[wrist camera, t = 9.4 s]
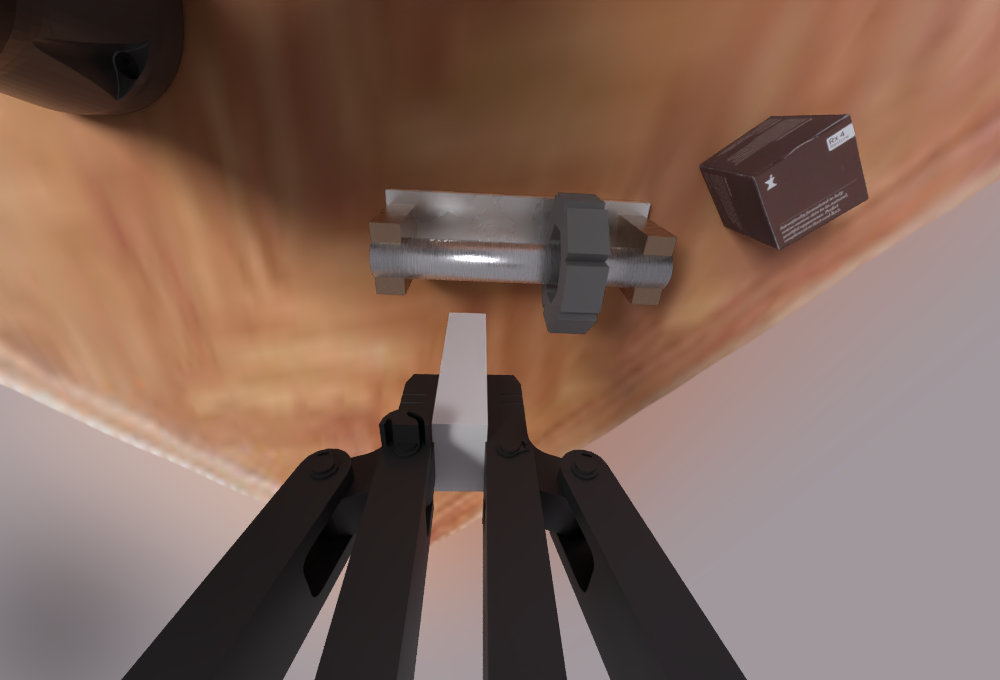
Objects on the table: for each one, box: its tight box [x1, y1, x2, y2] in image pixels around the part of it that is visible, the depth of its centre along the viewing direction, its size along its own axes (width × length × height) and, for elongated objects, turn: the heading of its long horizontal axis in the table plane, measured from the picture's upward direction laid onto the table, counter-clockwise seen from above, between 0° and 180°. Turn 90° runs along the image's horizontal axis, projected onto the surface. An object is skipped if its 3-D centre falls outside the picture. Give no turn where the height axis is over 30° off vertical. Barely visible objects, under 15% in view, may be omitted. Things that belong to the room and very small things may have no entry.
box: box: [700, 114, 868, 250], centre depth 28 cm, size 6×6×7 cm
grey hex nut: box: [542, 192, 610, 334], centre depth 28 cm, size 2×9×9 cm, turn 177°
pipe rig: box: [369, 188, 677, 305], centre depth 30 cm, size 21×7×8 cm, turn 87°
